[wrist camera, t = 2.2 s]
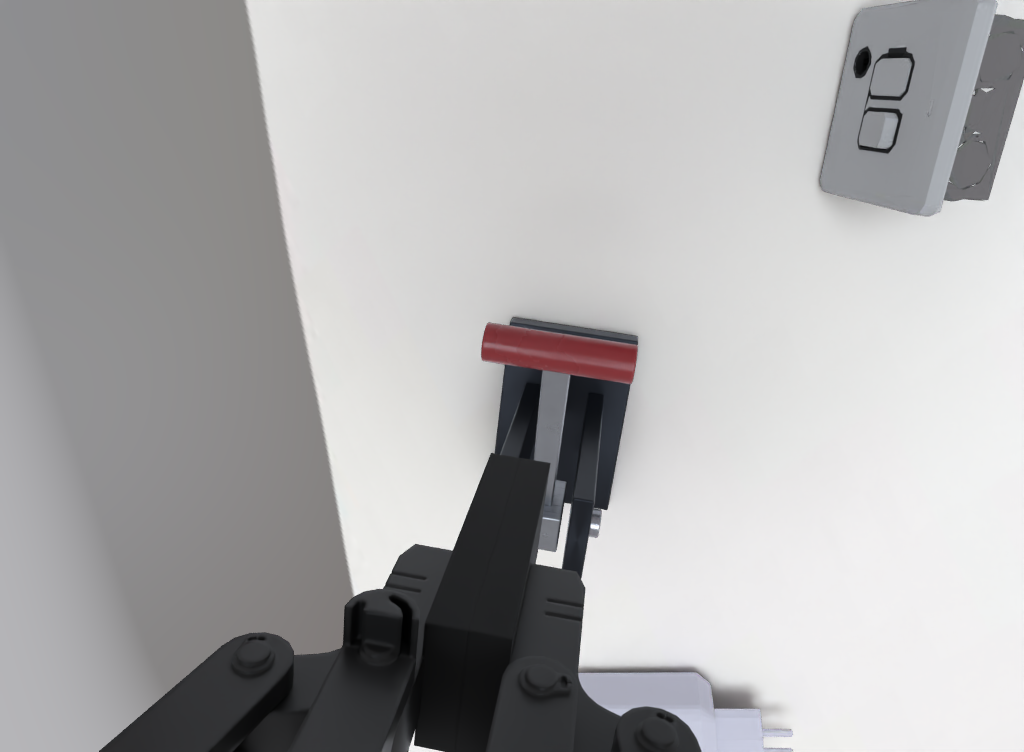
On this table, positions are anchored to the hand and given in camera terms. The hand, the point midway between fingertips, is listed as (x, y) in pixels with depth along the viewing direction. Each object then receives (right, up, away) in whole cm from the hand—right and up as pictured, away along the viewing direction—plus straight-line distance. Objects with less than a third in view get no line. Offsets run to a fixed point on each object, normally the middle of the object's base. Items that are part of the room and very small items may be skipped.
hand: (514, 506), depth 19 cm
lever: (+2, +1, +16) cm, 16 cm away
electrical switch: (+20, +18, +22) cm, 35 cm away
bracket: (+3, +1, +31) cm, 31 cm away
